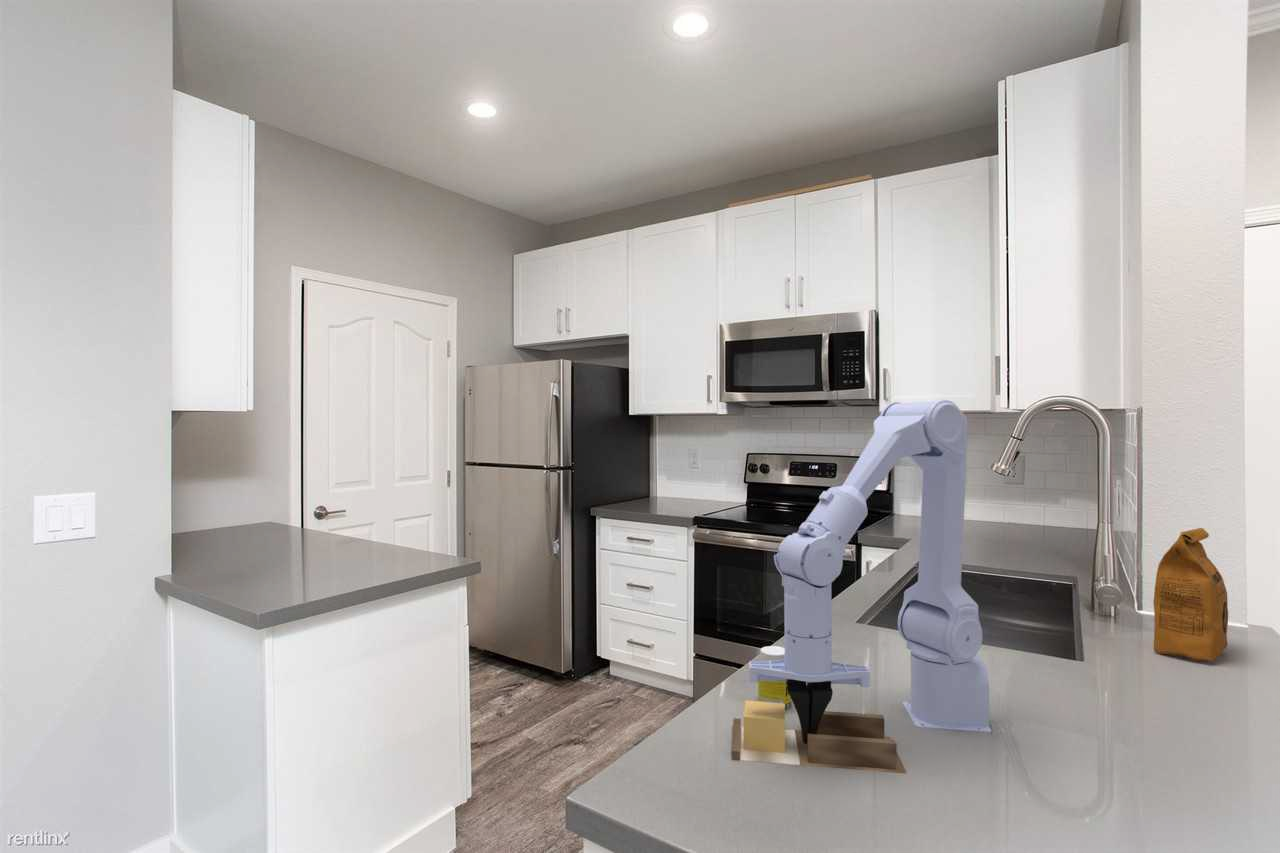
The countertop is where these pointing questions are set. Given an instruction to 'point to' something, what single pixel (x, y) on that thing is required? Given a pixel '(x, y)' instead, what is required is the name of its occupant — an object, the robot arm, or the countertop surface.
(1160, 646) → the coffee package
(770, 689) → the supplement bottle
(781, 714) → the ochre block
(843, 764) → the walnut chute
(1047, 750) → the countertop surface
